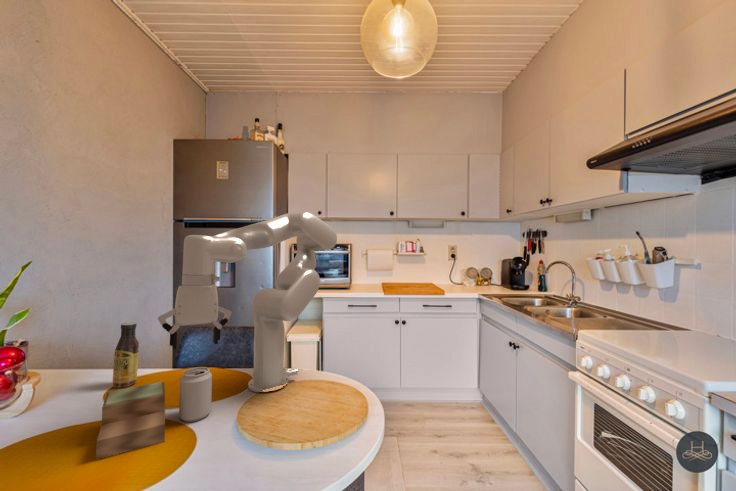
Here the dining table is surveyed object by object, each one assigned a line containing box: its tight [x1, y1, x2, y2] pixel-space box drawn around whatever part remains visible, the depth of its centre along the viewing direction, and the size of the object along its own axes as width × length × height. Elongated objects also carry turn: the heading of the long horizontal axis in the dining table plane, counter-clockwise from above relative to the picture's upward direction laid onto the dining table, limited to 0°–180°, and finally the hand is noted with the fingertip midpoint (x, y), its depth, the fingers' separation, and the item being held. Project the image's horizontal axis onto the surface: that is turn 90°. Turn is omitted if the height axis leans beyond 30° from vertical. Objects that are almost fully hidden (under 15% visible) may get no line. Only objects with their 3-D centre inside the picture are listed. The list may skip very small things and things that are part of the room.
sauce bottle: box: [112, 321, 140, 389], centre depth 101 cm, size 7×6×20 cm
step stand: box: [95, 381, 166, 460], centre depth 75 cm, size 12×16×8 cm
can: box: [178, 366, 213, 423], centre depth 83 cm, size 8×8×12 cm
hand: (195, 345), depth 83 cm, fingers open, 9 cm apart
